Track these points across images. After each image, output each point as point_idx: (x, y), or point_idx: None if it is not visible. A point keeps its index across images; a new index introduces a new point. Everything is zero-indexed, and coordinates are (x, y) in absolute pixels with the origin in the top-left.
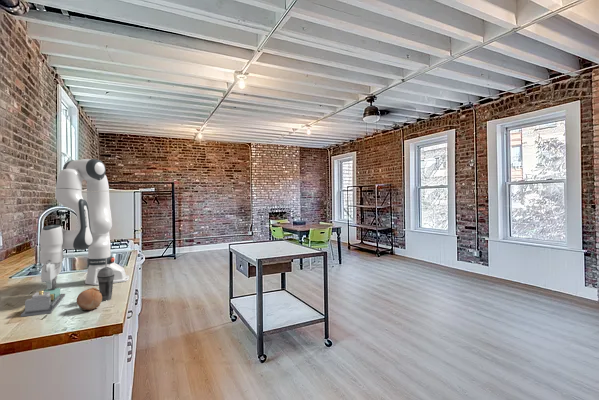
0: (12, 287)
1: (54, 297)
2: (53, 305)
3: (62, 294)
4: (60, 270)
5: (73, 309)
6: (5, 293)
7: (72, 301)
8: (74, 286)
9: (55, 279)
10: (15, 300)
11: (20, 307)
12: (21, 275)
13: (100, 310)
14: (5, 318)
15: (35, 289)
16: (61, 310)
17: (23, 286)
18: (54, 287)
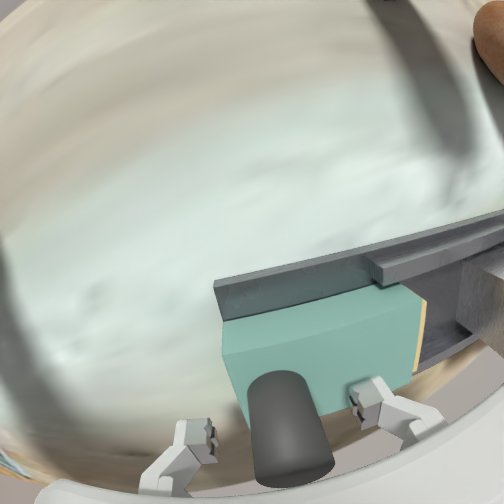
0: None
1: (403, 288)
2: (488, 226)
3: (242, 296)
4: (66, 501)
5: (496, 120)
6: None
7: (398, 152)
8: (9, 306)
9: (288, 456)
10: None
11: (395, 392)
12: (8, 463)
13: None
14: None
15: (91, 449)
16: (500, 171)
17: (72, 471)
18: (293, 386)
